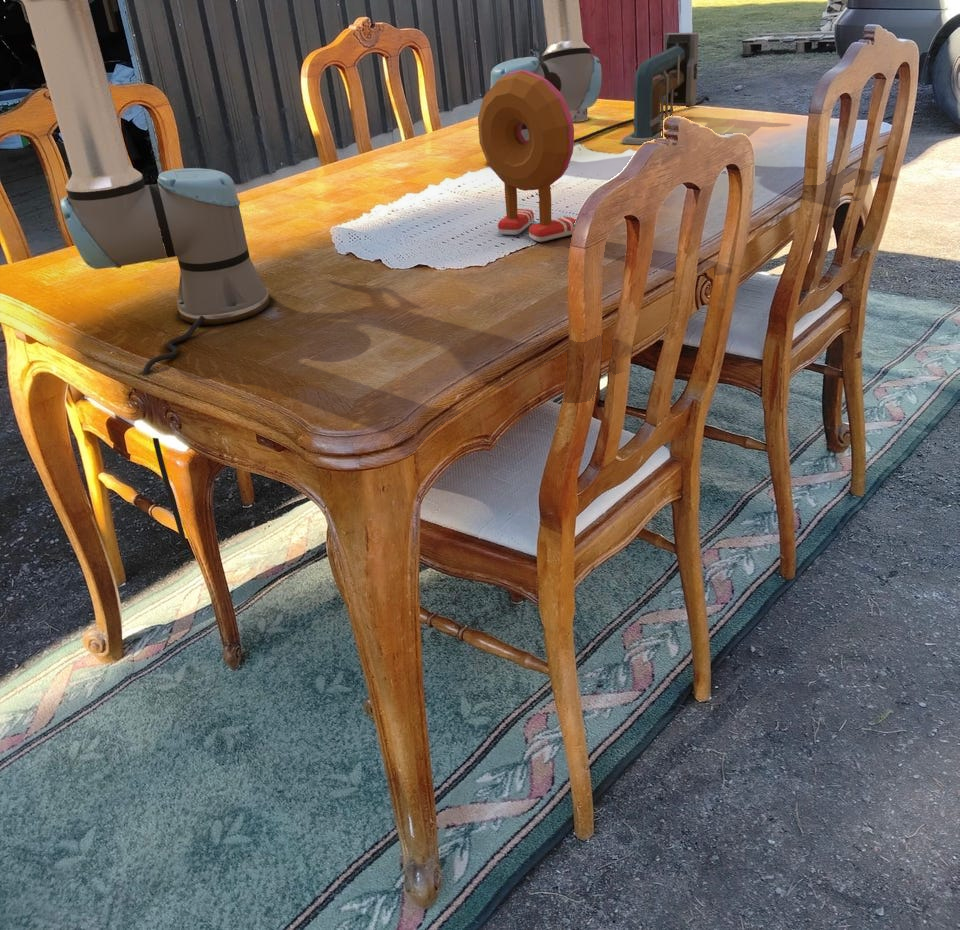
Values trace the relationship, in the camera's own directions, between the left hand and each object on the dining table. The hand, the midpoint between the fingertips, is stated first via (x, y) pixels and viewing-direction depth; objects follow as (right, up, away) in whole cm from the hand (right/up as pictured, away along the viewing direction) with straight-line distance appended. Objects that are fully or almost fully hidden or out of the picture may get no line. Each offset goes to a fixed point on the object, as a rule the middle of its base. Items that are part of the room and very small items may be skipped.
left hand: (78, 36), depth 182 cm
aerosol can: (+103, +19, +96) cm, 142 cm away
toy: (+86, -35, +8) cm, 94 cm away
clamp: (+124, +9, +78) cm, 146 cm away
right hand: (+104, +16, +11) cm, 105 cm away
